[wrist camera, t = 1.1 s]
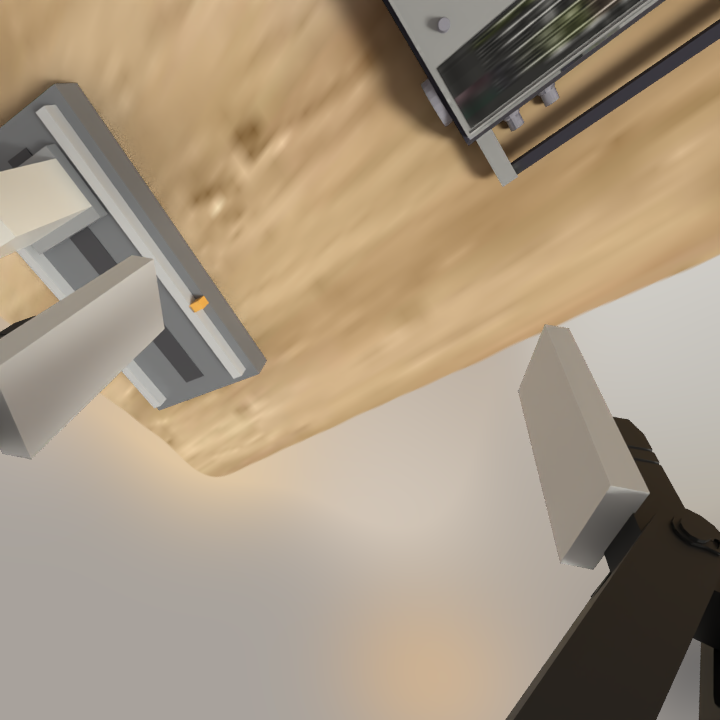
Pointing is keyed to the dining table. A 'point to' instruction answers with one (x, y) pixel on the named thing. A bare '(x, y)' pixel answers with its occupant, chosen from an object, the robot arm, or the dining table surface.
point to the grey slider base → (132, 253)
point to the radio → (520, 61)
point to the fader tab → (44, 203)
